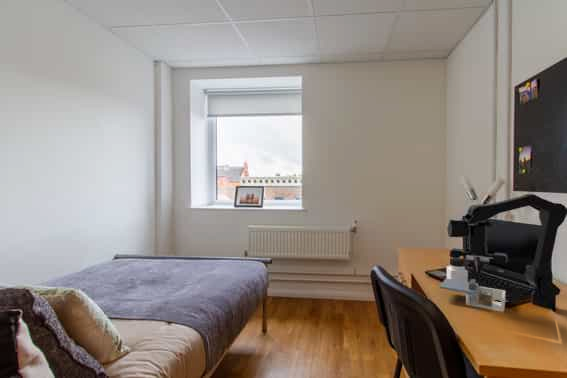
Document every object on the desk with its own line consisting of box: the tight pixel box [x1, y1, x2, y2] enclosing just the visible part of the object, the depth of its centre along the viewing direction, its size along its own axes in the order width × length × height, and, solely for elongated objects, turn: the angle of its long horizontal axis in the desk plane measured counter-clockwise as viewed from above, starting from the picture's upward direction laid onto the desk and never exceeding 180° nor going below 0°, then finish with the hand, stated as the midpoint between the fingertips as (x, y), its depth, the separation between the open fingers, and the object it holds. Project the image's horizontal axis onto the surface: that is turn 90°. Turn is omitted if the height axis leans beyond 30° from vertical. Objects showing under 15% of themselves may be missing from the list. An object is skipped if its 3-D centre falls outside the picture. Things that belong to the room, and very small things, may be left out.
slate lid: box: [439, 278, 479, 294], centre depth 129 cm, size 12×12×3 cm
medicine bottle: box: [446, 257, 469, 282], centre depth 148 cm, size 7×7×12 cm
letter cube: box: [479, 291, 492, 306], centre depth 123 cm, size 4×4×4 cm
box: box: [465, 285, 506, 313], centre depth 124 cm, size 12×12×5 cm
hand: (477, 277), depth 125 cm, fingers closed
